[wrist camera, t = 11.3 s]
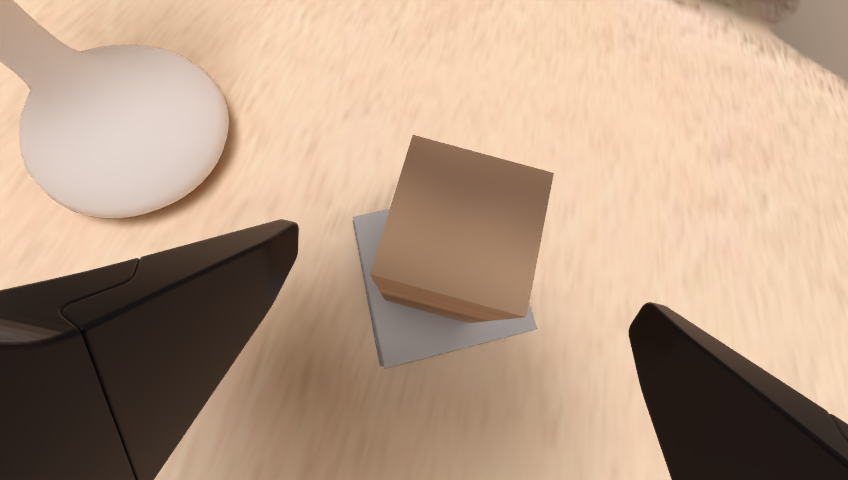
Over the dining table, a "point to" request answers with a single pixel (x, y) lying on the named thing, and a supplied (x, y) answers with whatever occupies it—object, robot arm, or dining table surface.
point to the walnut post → (462, 234)
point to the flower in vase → (112, 120)
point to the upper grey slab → (421, 313)
